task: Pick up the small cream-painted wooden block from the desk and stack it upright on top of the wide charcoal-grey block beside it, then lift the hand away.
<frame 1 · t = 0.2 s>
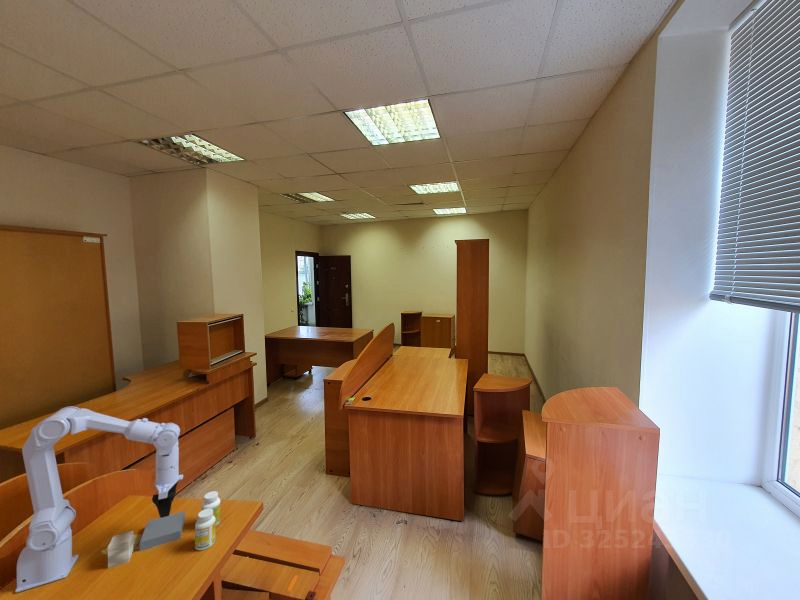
hand: (167, 508, 96), 10 cm above the table, tool pointing down, fingers open, 7 cm apart
supplement bottle: (211, 524, 103), on the table
base block: (163, 534, 98), on the table
supplement bottle 2: (205, 544, 95), on the table
cream block: (121, 559, 89), on the table
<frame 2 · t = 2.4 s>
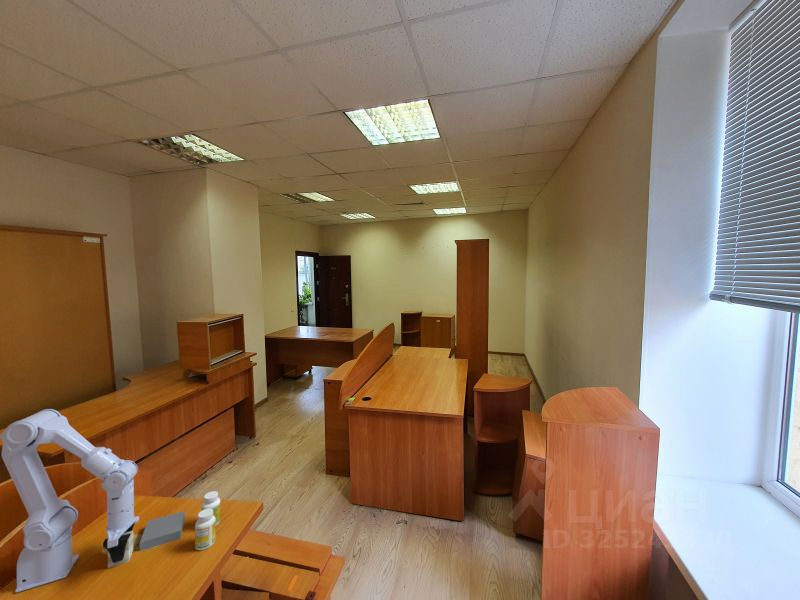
hand: (121, 554, 89), 1 cm above the table, tool pointing down, fingers closed on cream block, 4 cm apart
cream block: (121, 558, 89), on the table, touching gripper
everything else where it was.
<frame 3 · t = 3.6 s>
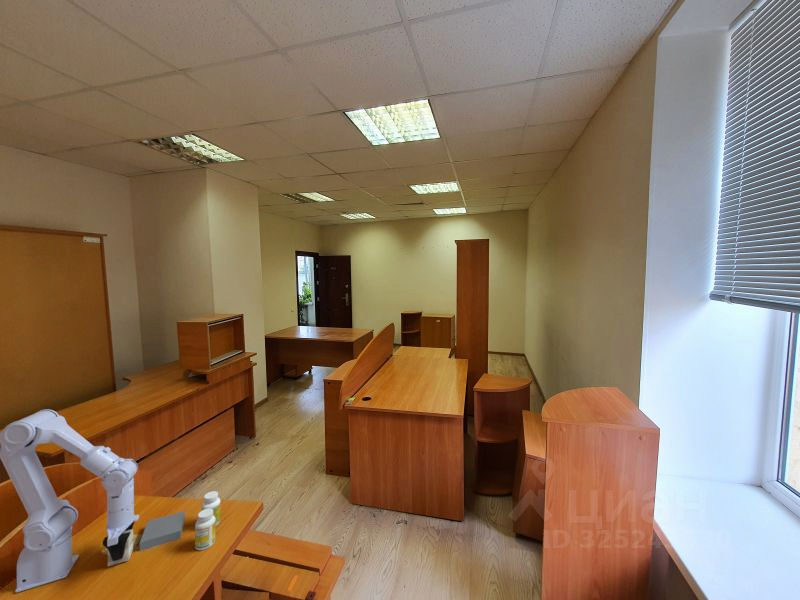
hand: (120, 552, 89), 2 cm above the table, tool pointing down, fingers closed on cream block, 4 cm apart
cream block: (120, 557, 89), on the table, touching gripper
everything else where it was.
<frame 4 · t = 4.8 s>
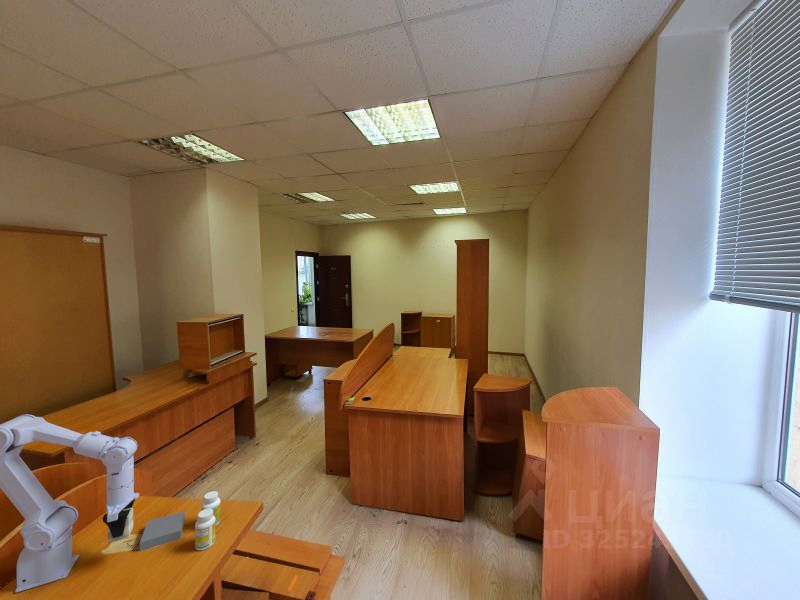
hand: (120, 530, 89), 8 cm above the table, tool pointing down, fingers closed on cream block, 4 cm apart
cream block: (120, 535, 89), point 7 cm above the table, touching gripper
everything else where it was.
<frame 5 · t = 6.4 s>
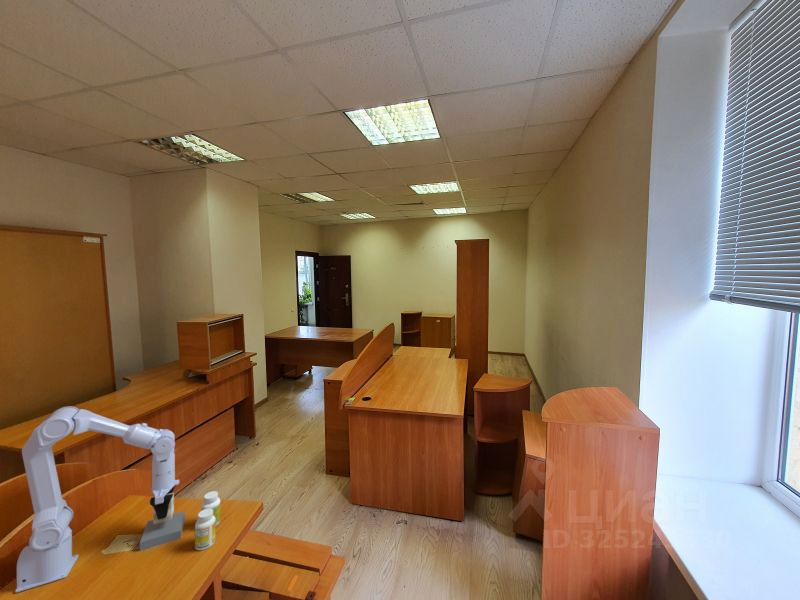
hand: (163, 512, 98), 7 cm above the table, tool pointing down, fingers closed on cream block, 4 cm apart
cream block: (164, 517, 98), point 5 cm above the table, touching gripper
everything else where it was.
when the fingers open (5 cm above the table, at t = 7.5 s): cream block drops 2 cm, resting on base block.
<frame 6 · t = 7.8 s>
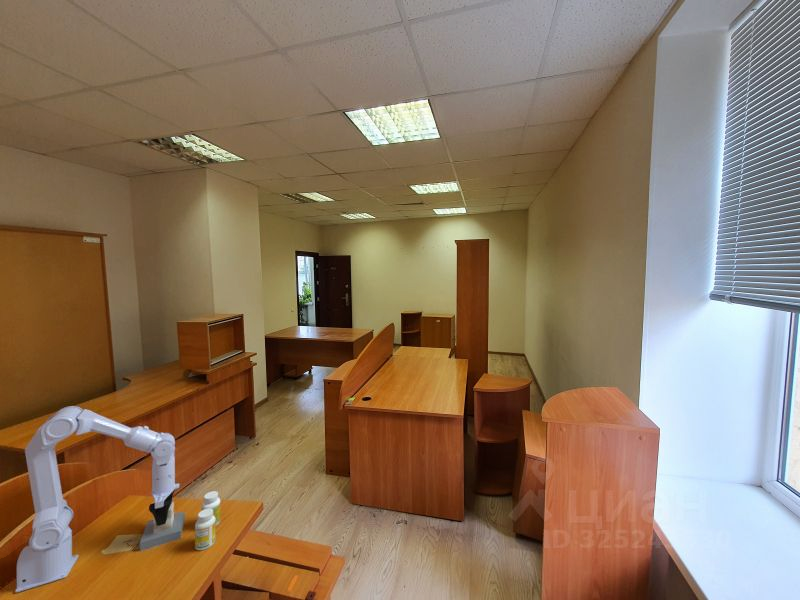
hand: (163, 516, 98), 5 cm above the table, tool pointing down, fingers open, 7 cm apart
base block: (163, 535, 98), on the table, touching cream block
cream block: (163, 526, 98), point 2 cm above the table, touching base block
everything else where it was.
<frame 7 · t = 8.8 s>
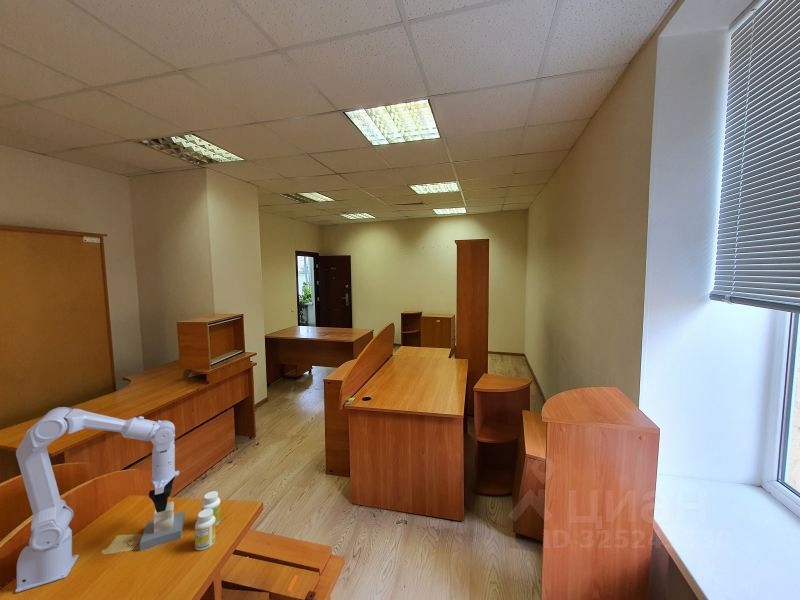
hand: (163, 503, 98), 10 cm above the table, tool pointing down, fingers open, 7 cm apart
nothing on the table moved.
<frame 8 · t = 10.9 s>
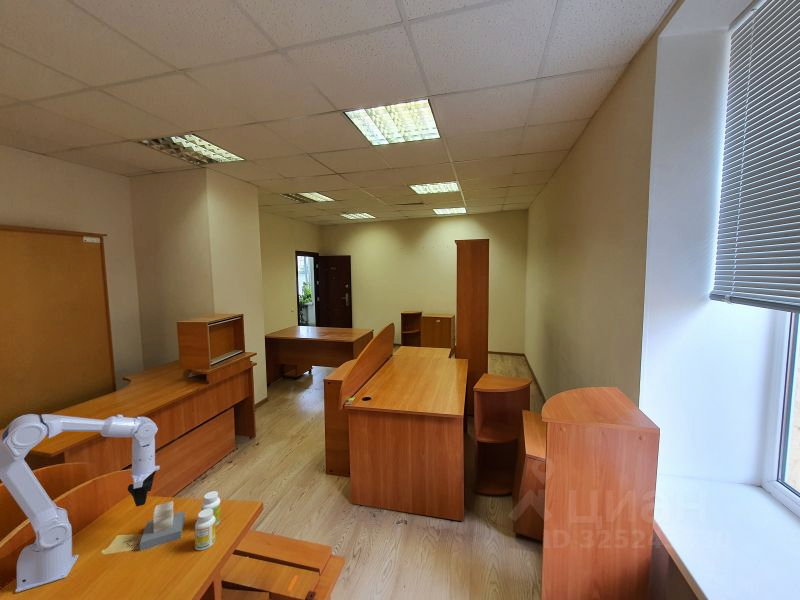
hand: (143, 497, 100), 10 cm above the table, tool pointing down, fingers open, 7 cm apart
base block: (163, 535, 98), on the table
cream block: (163, 525, 98), point 2 cm above the table
everything else where it was.
at the end: cream block 0.0 cm off-centre on the base block, point 3.0 cm above the base block's base; cream block tilted 0°; the gripper is holding nothing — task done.
